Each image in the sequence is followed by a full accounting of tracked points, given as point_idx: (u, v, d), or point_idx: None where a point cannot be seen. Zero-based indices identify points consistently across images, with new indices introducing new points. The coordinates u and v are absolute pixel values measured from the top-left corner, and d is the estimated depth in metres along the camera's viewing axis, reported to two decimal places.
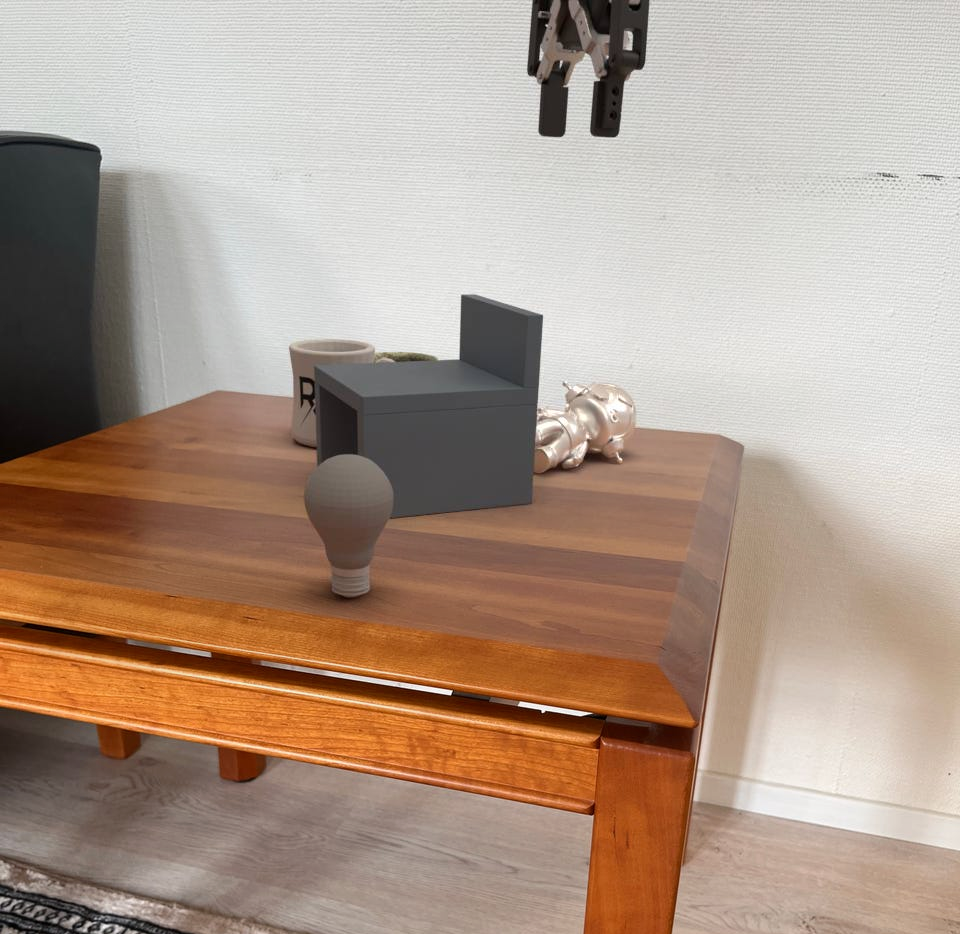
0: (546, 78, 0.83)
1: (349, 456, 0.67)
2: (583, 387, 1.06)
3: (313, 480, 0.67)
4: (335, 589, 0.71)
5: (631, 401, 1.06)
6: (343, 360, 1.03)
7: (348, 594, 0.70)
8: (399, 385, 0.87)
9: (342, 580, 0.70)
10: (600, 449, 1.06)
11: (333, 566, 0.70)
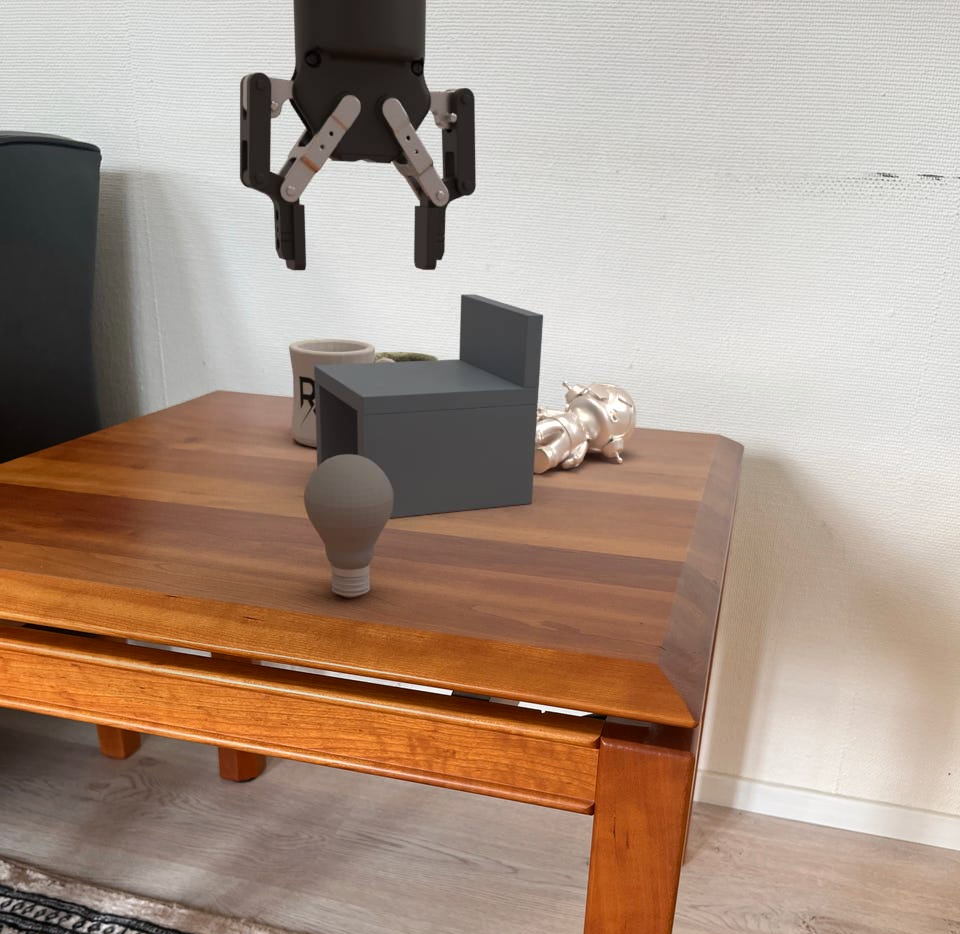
0: (418, 197, 0.65)
1: (349, 456, 0.67)
2: (583, 387, 1.06)
3: (313, 480, 0.67)
4: (335, 589, 0.71)
5: (631, 401, 1.06)
6: (343, 360, 1.03)
7: (348, 594, 0.70)
8: (399, 385, 0.87)
9: (342, 580, 0.70)
10: (600, 449, 1.06)
11: (333, 566, 0.70)
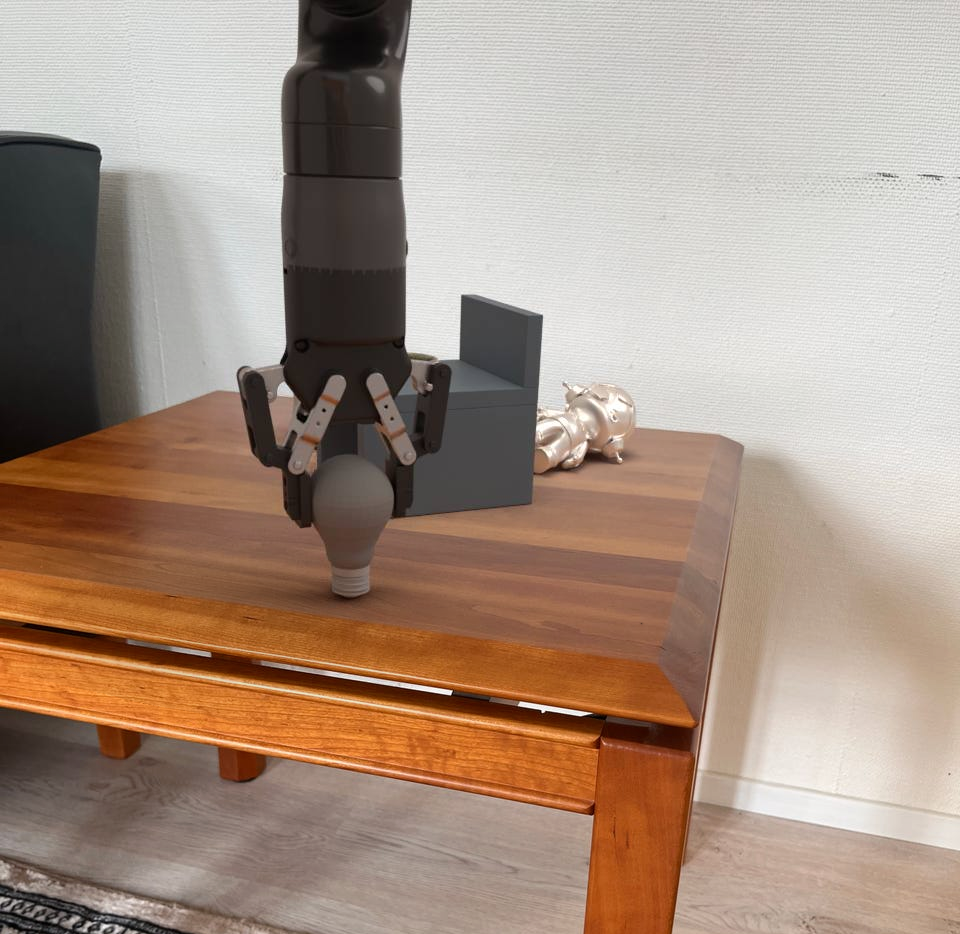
0: (388, 450, 0.70)
1: (350, 456, 0.67)
2: (583, 387, 1.06)
3: (313, 479, 0.67)
4: (335, 589, 0.71)
5: (631, 401, 1.06)
6: None
7: (348, 594, 0.70)
8: None
9: (342, 580, 0.70)
10: (600, 449, 1.06)
11: (333, 566, 0.70)
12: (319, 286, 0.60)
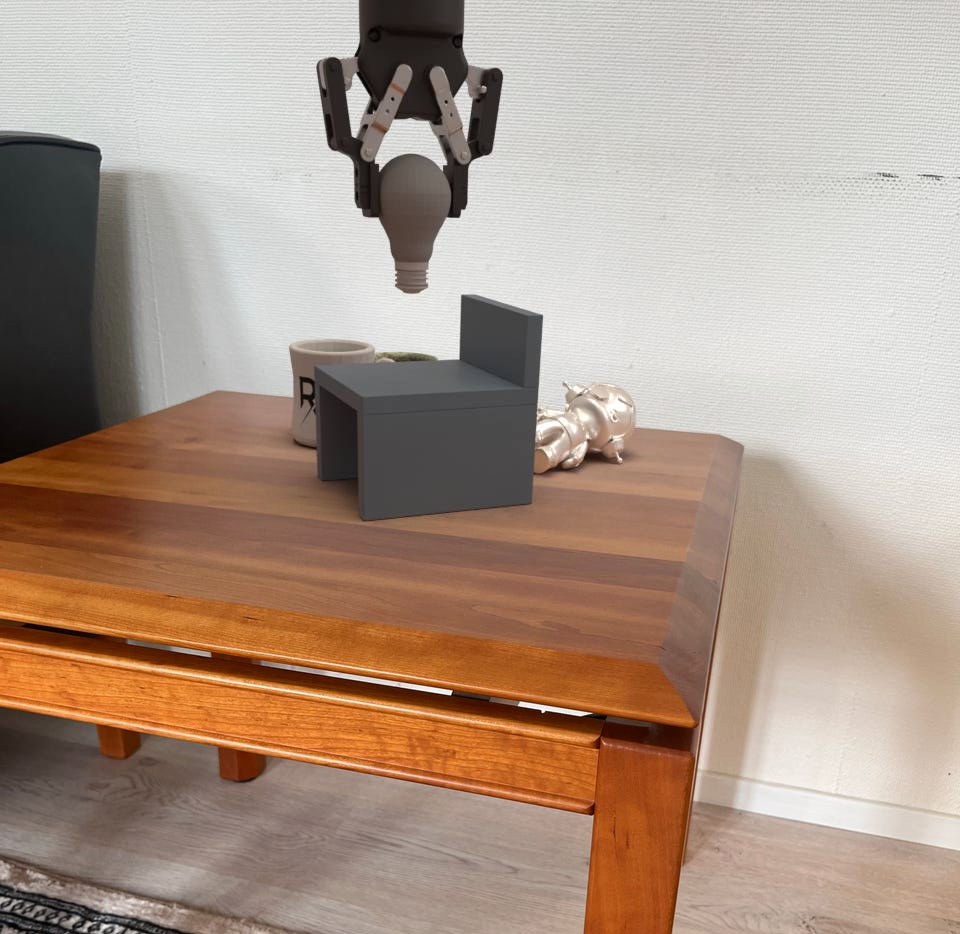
0: (445, 156, 0.79)
1: None
2: (583, 387, 1.06)
3: (381, 173, 0.76)
4: (398, 285, 0.80)
5: (631, 401, 1.06)
6: (343, 360, 1.03)
7: (410, 287, 0.79)
8: (399, 385, 0.87)
9: (404, 274, 0.79)
10: (600, 449, 1.06)
11: (397, 261, 0.79)
12: None
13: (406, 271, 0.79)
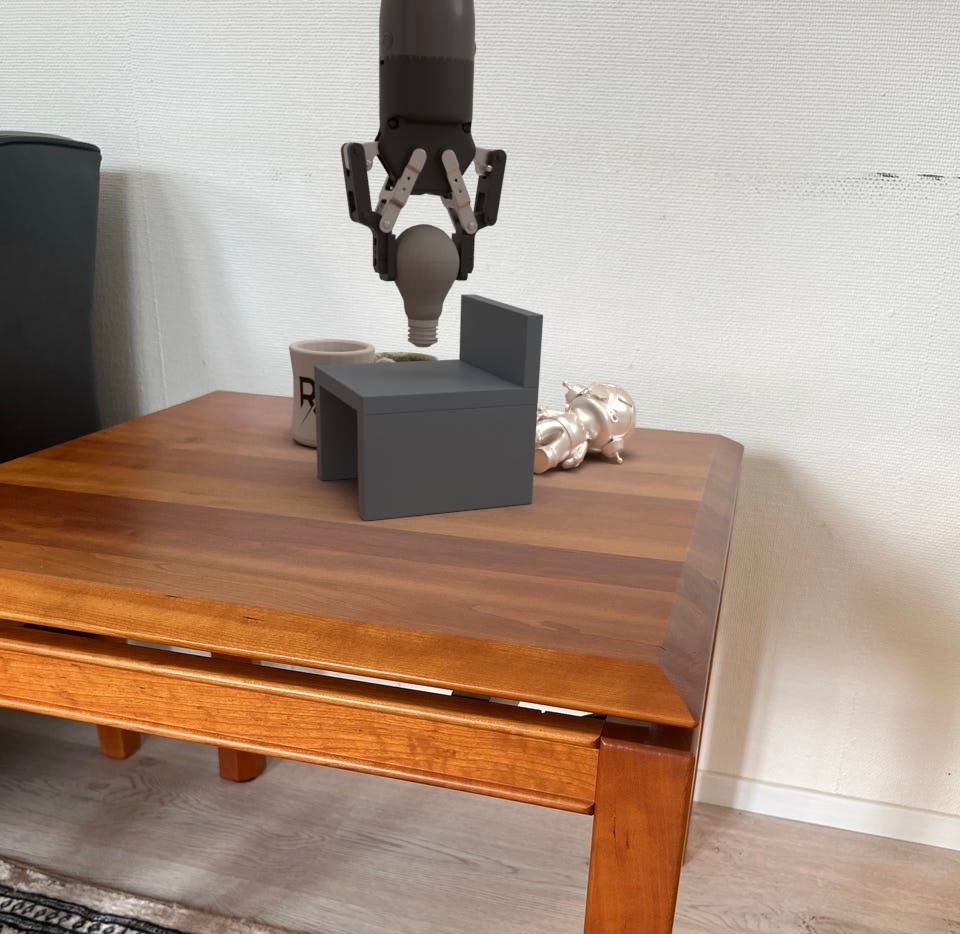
0: (454, 225, 0.87)
1: (425, 224, 0.85)
2: (583, 387, 1.06)
3: (397, 241, 0.85)
4: (411, 340, 0.89)
5: (631, 401, 1.06)
6: (343, 360, 1.03)
7: (421, 342, 0.88)
8: (399, 385, 0.87)
9: (417, 330, 0.88)
10: (600, 449, 1.06)
11: (410, 319, 0.88)
12: (410, 70, 0.78)
13: (418, 328, 0.88)
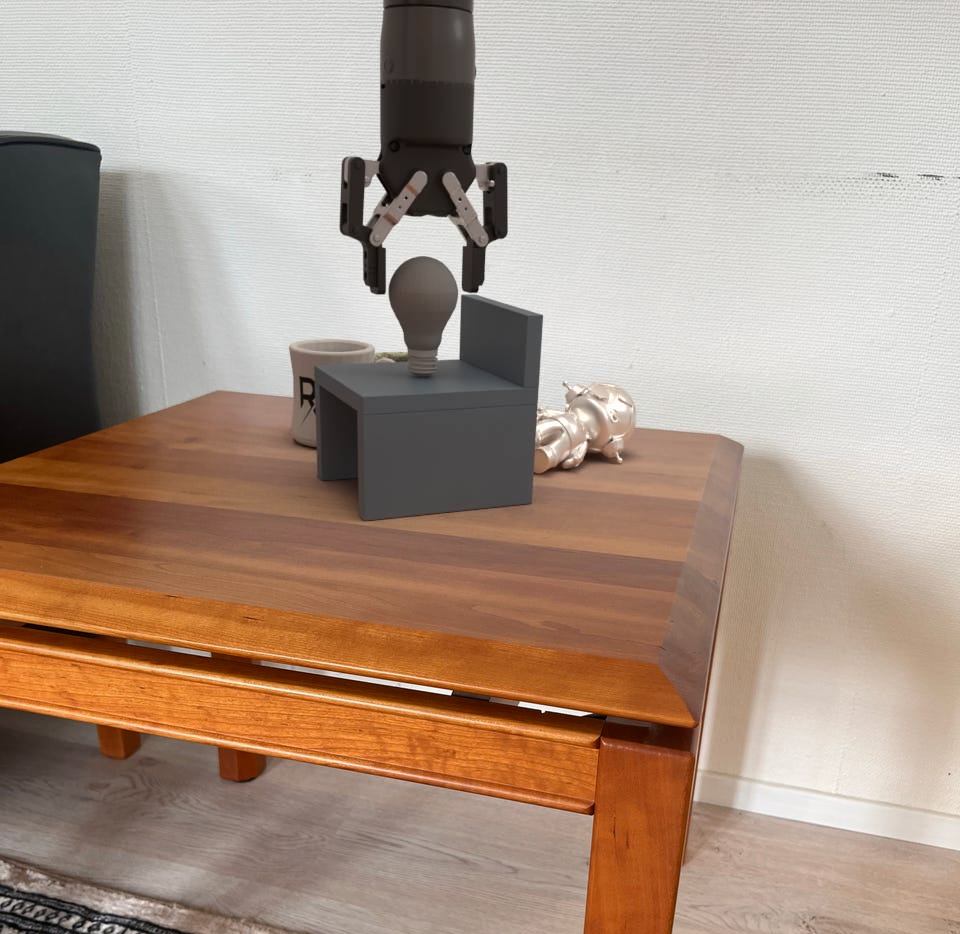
0: (465, 239, 0.88)
1: (424, 256, 0.86)
2: (583, 387, 1.06)
3: (396, 274, 0.86)
4: (410, 369, 0.90)
5: (631, 401, 1.06)
6: (343, 360, 1.03)
7: (421, 372, 0.89)
8: (399, 385, 0.87)
9: (416, 360, 0.89)
10: (600, 449, 1.06)
11: (409, 349, 0.89)
12: (411, 94, 0.78)
13: (418, 358, 0.89)
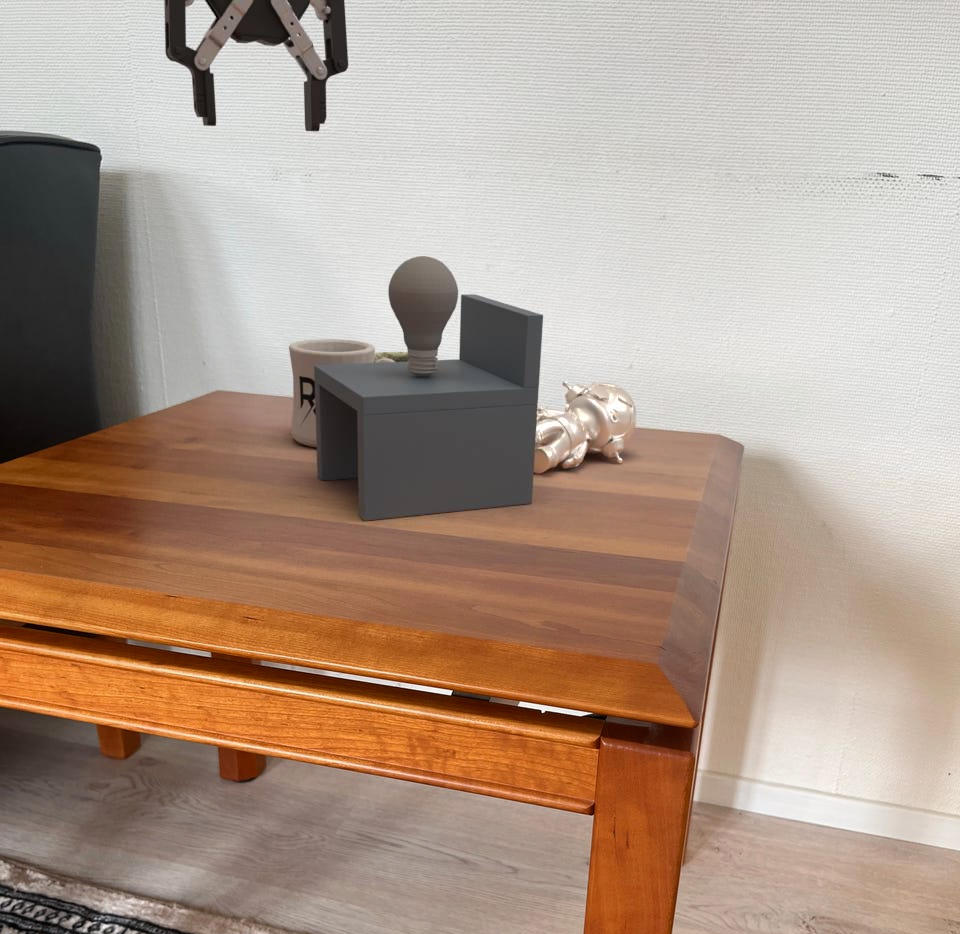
0: (306, 74, 0.85)
1: (424, 256, 0.86)
2: (583, 387, 1.06)
3: (396, 274, 0.86)
4: (410, 369, 0.90)
5: (631, 401, 1.06)
6: (343, 360, 1.03)
7: (421, 372, 0.89)
8: (399, 385, 0.87)
9: (416, 360, 0.89)
10: (600, 449, 1.06)
11: (409, 349, 0.89)
12: None
13: (418, 358, 0.89)
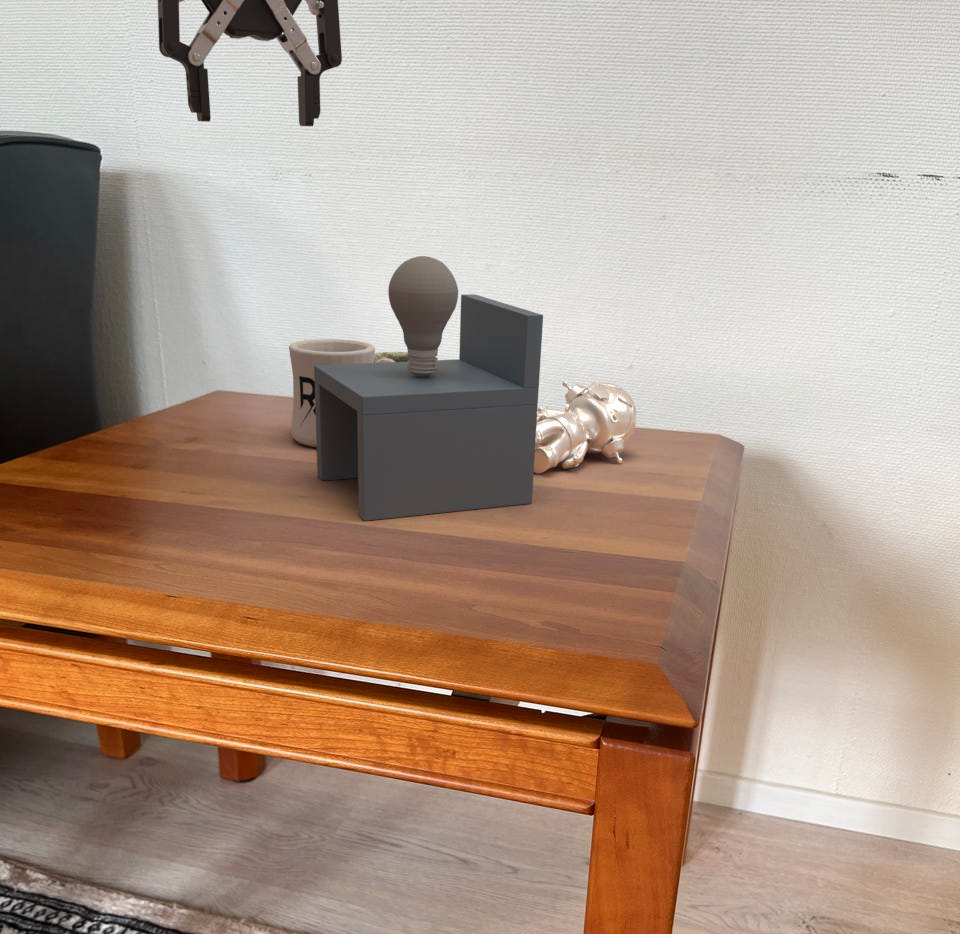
0: (299, 69, 0.85)
1: (424, 256, 0.86)
2: (583, 387, 1.06)
3: (396, 274, 0.86)
4: (410, 369, 0.90)
5: (631, 401, 1.06)
6: (343, 360, 1.03)
7: (421, 372, 0.89)
8: (399, 385, 0.87)
9: (416, 360, 0.89)
10: (600, 449, 1.06)
11: (409, 349, 0.89)
12: None
13: (418, 358, 0.89)
